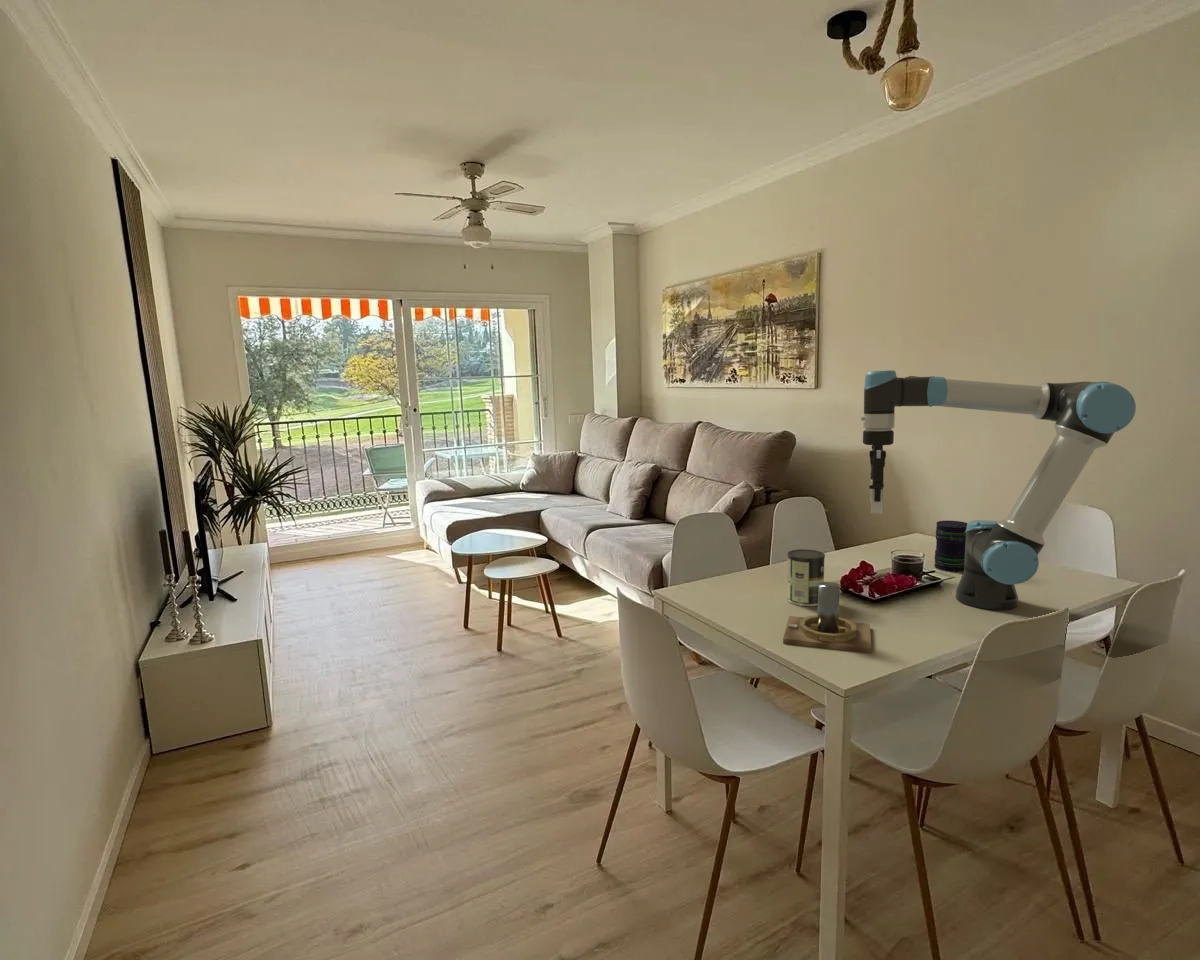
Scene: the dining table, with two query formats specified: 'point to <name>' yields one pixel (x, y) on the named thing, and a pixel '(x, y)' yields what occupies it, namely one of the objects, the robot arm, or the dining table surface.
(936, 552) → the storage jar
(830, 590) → the grey rounded cylinder
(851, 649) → the board
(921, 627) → the dining table surface
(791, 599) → the coffee can
